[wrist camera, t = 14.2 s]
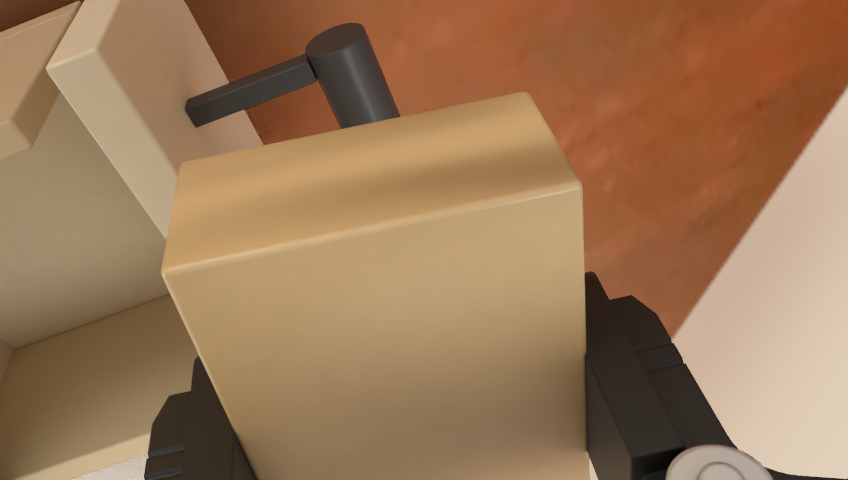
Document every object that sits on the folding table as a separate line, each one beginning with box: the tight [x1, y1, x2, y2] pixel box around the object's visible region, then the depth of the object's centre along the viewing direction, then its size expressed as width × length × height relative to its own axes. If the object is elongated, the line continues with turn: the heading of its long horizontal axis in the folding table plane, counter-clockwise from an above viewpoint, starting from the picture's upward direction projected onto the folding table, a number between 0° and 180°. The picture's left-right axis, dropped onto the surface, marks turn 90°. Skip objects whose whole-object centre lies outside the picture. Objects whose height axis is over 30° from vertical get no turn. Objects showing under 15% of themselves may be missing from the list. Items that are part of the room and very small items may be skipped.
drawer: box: [0, 0, 400, 480], centre depth 23 cm, size 18×13×8 cm
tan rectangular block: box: [161, 91, 590, 480], centre depth 12 cm, size 8×5×2 cm, turn 9°
